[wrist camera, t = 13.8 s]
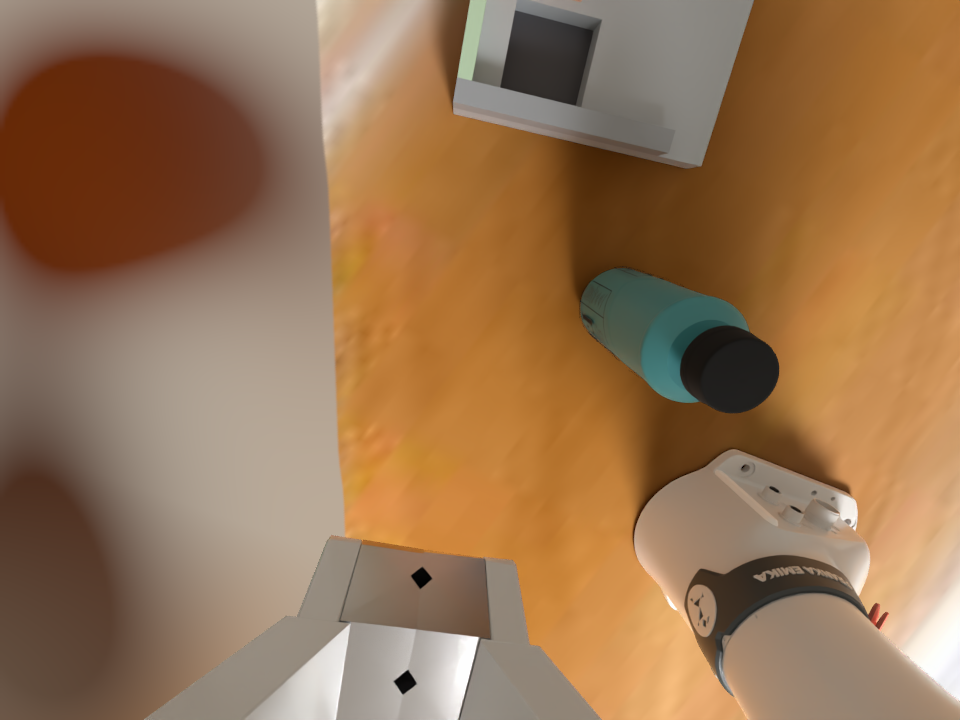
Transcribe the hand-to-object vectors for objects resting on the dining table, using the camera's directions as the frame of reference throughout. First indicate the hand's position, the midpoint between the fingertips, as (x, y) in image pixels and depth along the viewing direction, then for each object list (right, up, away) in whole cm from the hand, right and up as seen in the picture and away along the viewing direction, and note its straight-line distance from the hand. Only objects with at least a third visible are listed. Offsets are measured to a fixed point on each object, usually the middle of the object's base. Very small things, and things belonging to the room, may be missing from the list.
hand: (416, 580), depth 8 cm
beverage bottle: (+12, +9, +34) cm, 37 cm away
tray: (+10, +28, +27) cm, 40 cm away
